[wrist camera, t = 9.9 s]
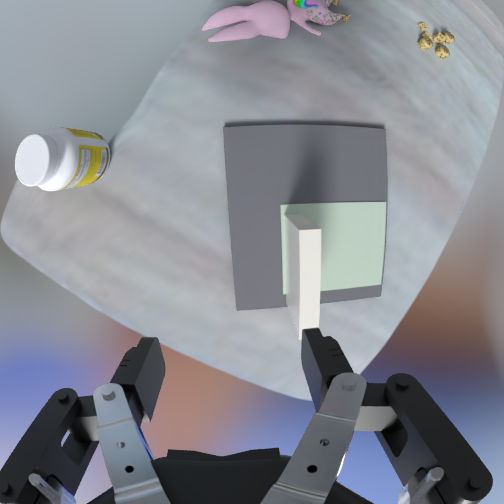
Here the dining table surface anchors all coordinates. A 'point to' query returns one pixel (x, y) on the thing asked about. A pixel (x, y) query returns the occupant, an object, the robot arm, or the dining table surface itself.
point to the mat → (306, 207)
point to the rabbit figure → (271, 19)
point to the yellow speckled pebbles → (437, 38)
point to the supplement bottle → (62, 159)
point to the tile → (302, 271)
